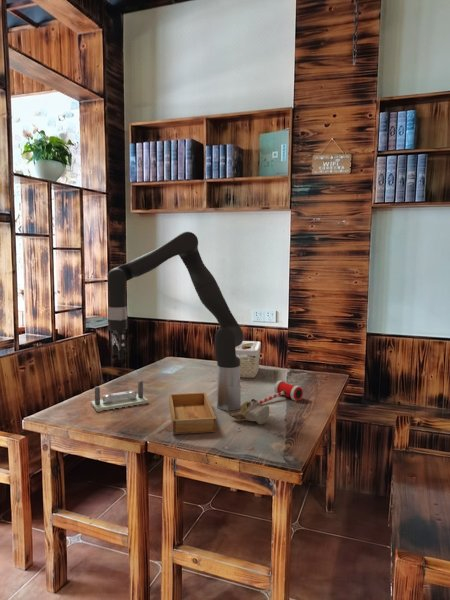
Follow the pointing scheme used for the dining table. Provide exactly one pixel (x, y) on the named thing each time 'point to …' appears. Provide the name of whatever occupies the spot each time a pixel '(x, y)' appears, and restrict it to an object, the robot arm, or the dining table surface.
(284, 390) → the toy hammer
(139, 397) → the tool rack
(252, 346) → the storage basket
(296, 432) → the dining table surface
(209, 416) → the tray
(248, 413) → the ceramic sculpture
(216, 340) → the robot arm
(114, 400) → the grey dumbbell
